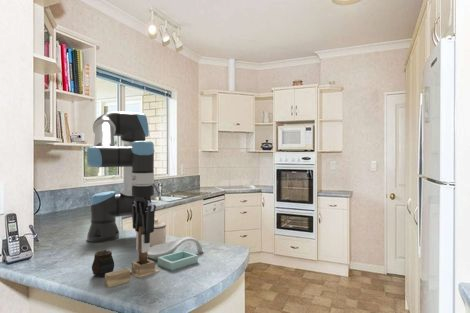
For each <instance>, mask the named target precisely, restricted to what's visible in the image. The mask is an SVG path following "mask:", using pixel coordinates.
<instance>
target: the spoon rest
mask: <svg viewBox="0 0 470 313" xmlns="http://www.w3.org/2000/svg"><path fill="white" fill-rule="evenodd" d="M189 241H190V242H193V243H195V244H196V250H197V251H198V252H200V253H202V252H203V246H202V244H201V243H200V242H199V240H197V239H196V238H194V237H192V236H182V237H179V238H176V239H174V240H170V241H167V242H165V243H163V244H159V245H155V246H150V251H149V252H148V255H147V258H148V259H150V260H154V261H155V260H156V261H158V257H161V256H165V255H168V254H172V253H175V252H176V250H177V249H178V248H179V247H180V246H181V245H182V244H183V243H185V242H189Z"/></svg>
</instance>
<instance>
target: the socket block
mask: <svg viewBox="0 0 470 313" xmlns="http://www.w3.org/2000/svg"><path fill="white" fill-rule="evenodd" d="M155 266H156V265H155V261H153V260H152V259H150V258H147V263H146V264H142V265H140V264H139V259H138V260H135V261H131V269H129V270H130V276H131V275H132V276H134V277H135V278H137V279H140V278H143V277H146V276H149V275H153V274H156V273H159V272H160V270H159V269H157V268H155Z"/></svg>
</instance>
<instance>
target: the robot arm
mask: <svg viewBox="0 0 470 313" xmlns="http://www.w3.org/2000/svg"><path fill="white" fill-rule="evenodd" d="M149 130H150V128H149V122H148V117H147V115H146V114H145V113H142V112H132V111H130V112H129V111H127V112H126V111H109V112H106V113H103V114H101V115H100V116H99V117H97V118H96V119H95V120H94V122H93V124H92V131H93V134H94V139H93V140H94V142H93V143H94V144H93V146H88V147H87V150H86V163H87V164H86V165H87V166H88V167H90V168H97V169H98V168H99V169H100V168H118V167H119V168H123V187H122V188H121V189H120V191H119V193H117V192H116V191H115V190H111V191H102V192H99V193H98V192H97V193H95V194H93V195H92V196H91V197H90V226H89V229H88V231H87V235H86V240H87V241H88V242H91V243H105V242H110V241H114V240H117V239H119V238H120V230H119V229H118V225H117V222H116V221H117V219H116V218H118V217H131V219H132V222H131V223H132V229H133V230H135V232H136V238H135V239H136V243H135V244H136V252H137V251H138V252H139V227H140V226H143V233H141V234H142V253H145V252H149V251H150V247H151V246H150V233H152V232H154V219H155V216H156V209H157V205H156V204H152V197H153V196H154V194H155V186H154V185H153V184H155V169H154V168H155V166H154V165H155V164H154V163H155V145H154V142H153V141H146V138H148V137H149V136H150V134H149V133H150V132H149ZM115 137H120V140H121V142H123V146H115Z"/></svg>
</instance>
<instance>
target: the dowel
mask: <svg viewBox="0 0 470 313" xmlns="http://www.w3.org/2000/svg"><path fill="white" fill-rule="evenodd" d="M141 233H143V226H140V227H139V250H138V260H139V264H140V265H142V264H146V263H147V259H148V256H147V255H148V252H145V253H142V234H141Z"/></svg>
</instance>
